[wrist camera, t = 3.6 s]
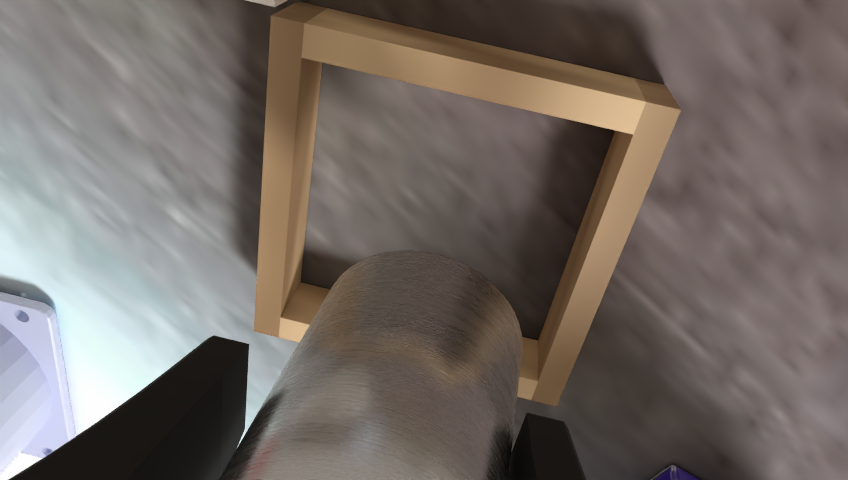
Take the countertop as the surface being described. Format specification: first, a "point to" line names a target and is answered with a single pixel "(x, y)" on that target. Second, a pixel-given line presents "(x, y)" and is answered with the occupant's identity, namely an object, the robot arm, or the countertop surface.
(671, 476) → the supplement box
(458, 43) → the wooden square frame
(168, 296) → the countertop surface
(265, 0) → the white square tray
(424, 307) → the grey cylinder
